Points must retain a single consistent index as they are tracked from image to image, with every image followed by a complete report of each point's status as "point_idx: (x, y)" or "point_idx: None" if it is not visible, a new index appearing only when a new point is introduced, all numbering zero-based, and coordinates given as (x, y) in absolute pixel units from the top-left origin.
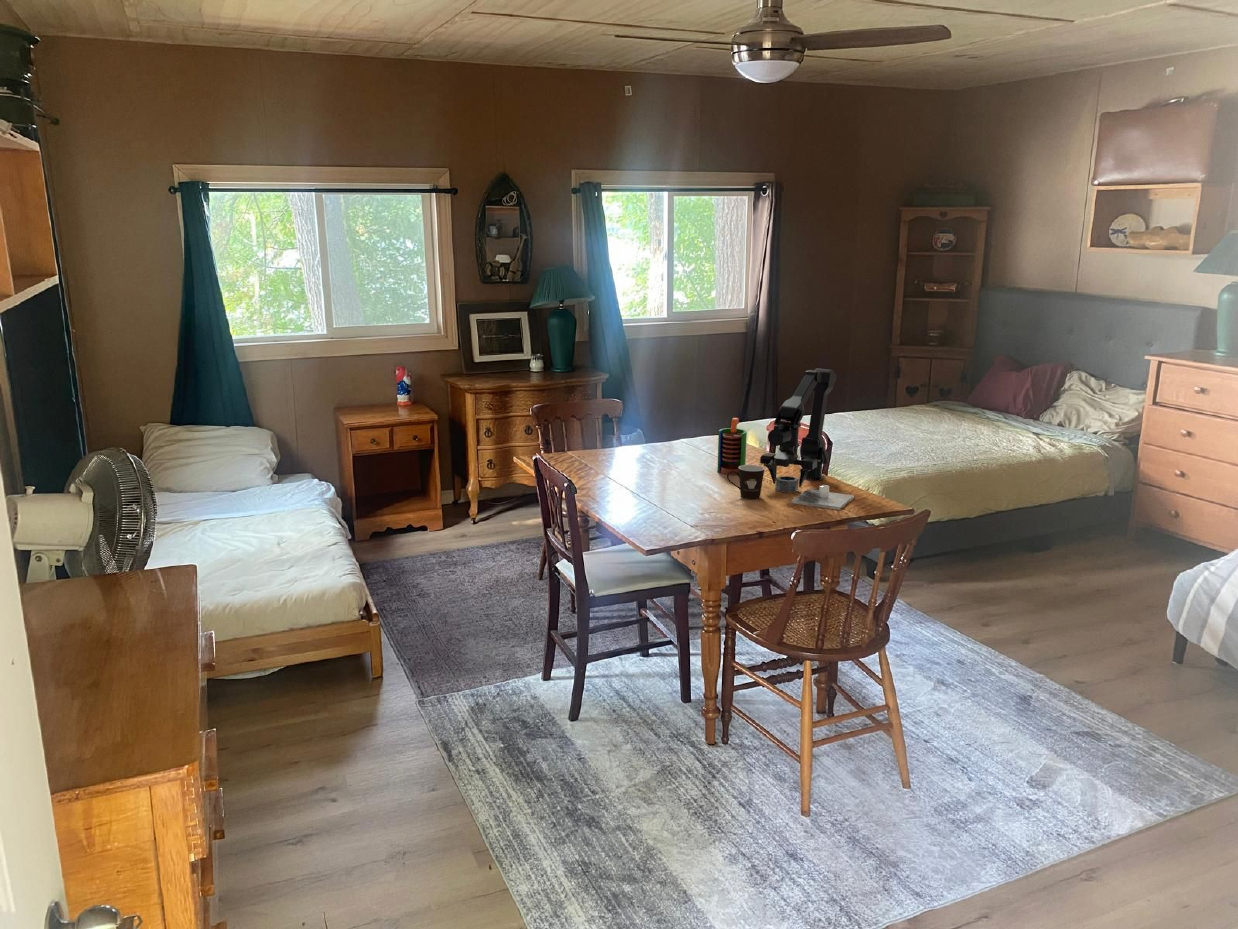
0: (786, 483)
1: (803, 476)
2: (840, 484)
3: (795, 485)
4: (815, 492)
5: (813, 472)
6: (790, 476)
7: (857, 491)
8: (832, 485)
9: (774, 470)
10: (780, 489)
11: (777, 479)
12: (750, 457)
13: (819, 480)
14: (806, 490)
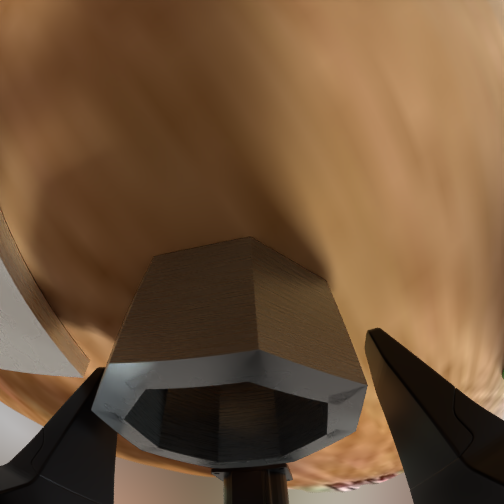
0: (141, 332)
1: (25, 448)
2: (133, 460)
3: (106, 365)
4: (2, 333)
5: (234, 496)
6: (253, 464)
7: (38, 421)
8: (136, 453)
9: (429, 464)
10: (236, 253)
11: (335, 367)
12: None
13: (211, 469)
14: (53, 347)
